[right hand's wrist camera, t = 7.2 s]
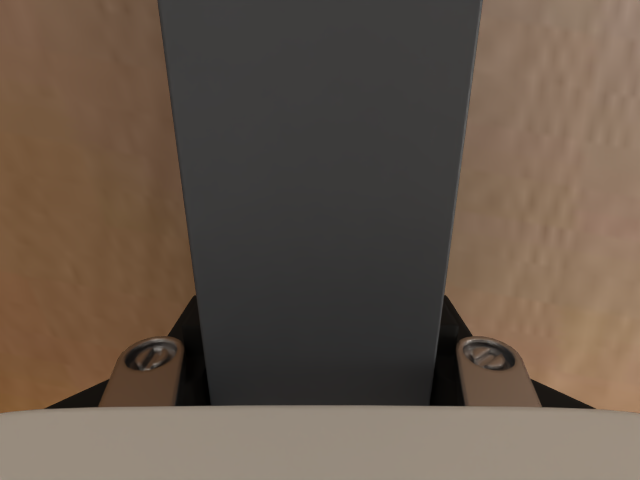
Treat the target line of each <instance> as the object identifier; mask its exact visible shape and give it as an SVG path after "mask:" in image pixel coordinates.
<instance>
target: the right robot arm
mask: <svg viewBox="0 0 640 480" xmlns="http://www.w3.org/2000/svg"><path fill="white" fill-rule="evenodd" d="M0 480H640V413H634V412H625V411H614V410H604V409H595V408H593V407H591V406H589V405H587V404H584V403H582V402H580V401H578V400H576V399H574V398H571V397H569V396H567V395H565V394H563V393H560V392H558V391H556V390H554V389H552V388H550V387H547V386H545V385H543V384H541V383H539V382H536V381H534V380H532V379H530V377H529V374H528V372H527V370H526V367H525V365H524V362H523V360H522V358H521V357H520V355H519V354H518V352H517V351H515V350H514V349H513V348H512V347H510V346H509V345H507V344H505V343H503V342H501V341H498V340H496V339H493V338H488V337H483V336H472V334H471V333H470V331H469V329H468V328H467V326H466V325H465V323H464V322H463V320H462V319H461V317H460V316H459V314H458V312H457V311H456V309H455V308H454V306H453V305H452V303H451V302H450V300H449V299H448V297H447V296H446V295H444V299H443V307H442V314H441V322H440V330H439V337H438V345H437V352H436V360H435V368H434V375H433V383H432V390H431V398H430V406H376V405H254V406H211V403H210V395H209V388H208V380H207V373H206V365H205V357H204V350H203V342H202V335H201V327H200V319H199V312H198V304H197V297H196V295H194V297H193V298H192V299H191V301H190V302H189V304H188V305H187V307H186V308H185V310H184V311H183V313H182V314H181V316H180V318H179V319H178V321H177V322H176V324H175V325H174V327H173V328H172V330H171V331H170V333H169V335H168V336H157V337H152V338H147V339H144V340H142V341H139V342H137V343H135V344H133V345H131V346H130V347H128V348H127V349H126V350H125V351H123V352H122V354H121V355H120V357H119V358H118V360H117V362H116V365H115V367H114V370H113V372H112V374H111V377H110V379H108V380H106V381H104V382H102V383H99V384H97V385H95V386H93V387H91V388H89V389H86V390H84V391H82V392H80V393H78V394H75V395H73V396H71V397H69V398H67V399H64V400H62V401H60V402H58V403H56V404H54V405H51V406H49V407H47V408H45V409H36V410H26V411H15V412H6V413H0Z"/></svg>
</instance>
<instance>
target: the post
mask: <svg viewBox="0 0 640 480" xmlns="http://www.w3.org/2000/svg"><path fill="white" fill-rule="evenodd" d="M482 2H483V0H158V8H159V15H160V23H161V31H162V38H163V46H164V53H165V61H166V69H167V76H168V84H169V91H170V99H171V107H172V114H173V122H174V129H175V137H176V145H177V152H178V160H179V167H180V175H181V183H182V190H183V198H184V205H185V213H186V221H187V228H188V236H189V243H190V251H191V259H192V266H193V274H194V281H195V289H196V297H197V304H198V312H199V319H200V327H201V335H202V342H203V350H204V357H205V365H206V373H207V380H208V388H209V395H210V403H211V406H254V405H376V406H430V398H431V390H432V383H433V375H434V368H435V360H436V352H437V345H438V337H439V330H440V322H441V314H442V307H443V299H444V292H445V284H446V276H447V269H448V261H449V253H450V246H451V238H452V231H453V223H454V215H455V208H456V200H457V193H458V185H459V177H460V170H461V162H462V155H463V147H464V139H465V132H466V124H467V117H468V109H469V101H470V94H471V86H472V79H473V71H474V63H475V56H476V48H477V40H478V33H479V25H480V18H481V10H482Z"/></svg>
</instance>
